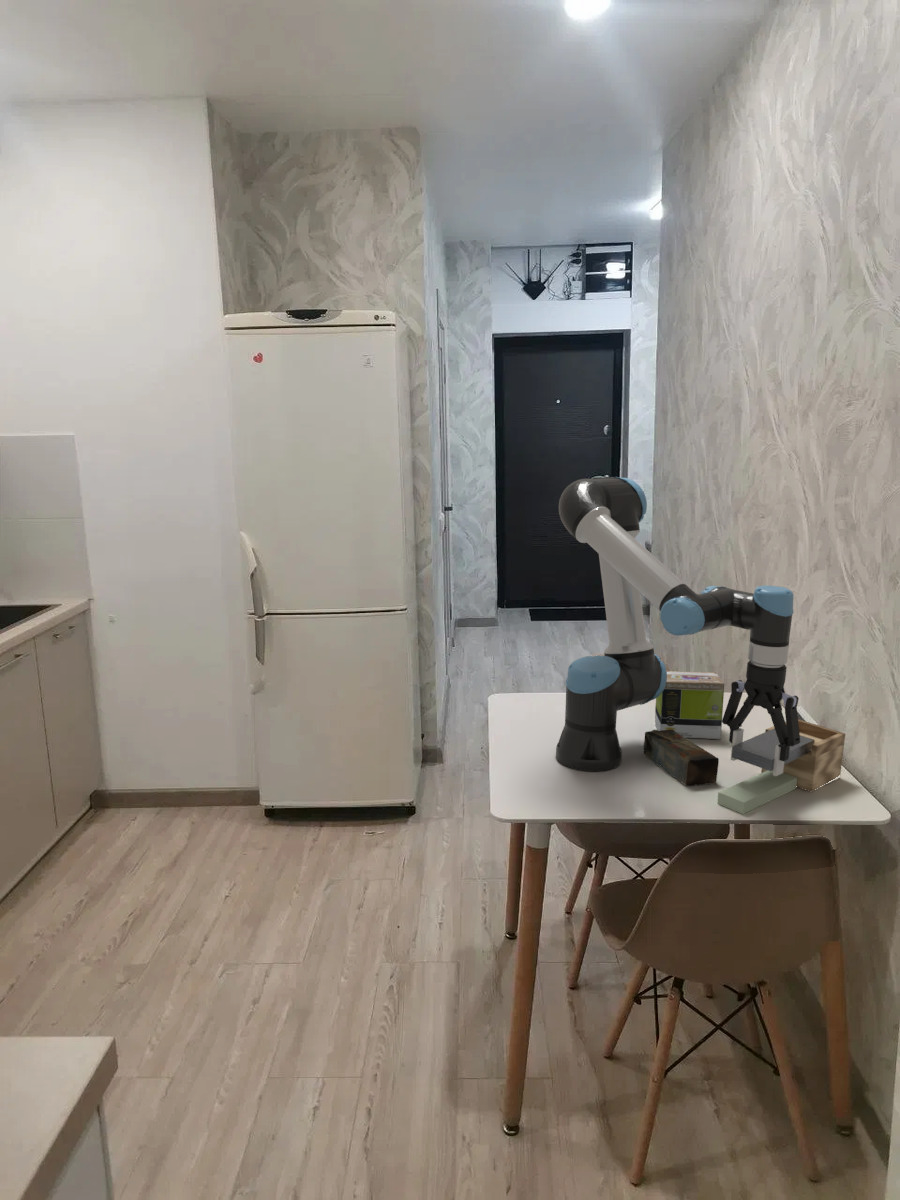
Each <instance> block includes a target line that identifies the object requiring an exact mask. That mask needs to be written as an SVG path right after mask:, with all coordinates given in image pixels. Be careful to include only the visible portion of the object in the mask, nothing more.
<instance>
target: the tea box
mask: <svg viewBox="0 0 900 1200" xmlns="http://www.w3.org/2000/svg"><path fill="white" fill-rule="evenodd" d="M666 671H667V682H666V686H665V688H664V690H663V692H662V693H661V694H660V695H659V696H658V697H657V698H656V699H655V711H654V714H655V715H654V723H655V726H656V730H658V731H661V730H674V731H675V732H677V733H678V734H680V735H681V736H683V737H685V738H686V739H689V738H690V739H710V740H721V738H722V729H723V728H722V724H723V723H722V719H723V712H724V710H723V709H724V698H725V697H724V696H725V683H724V682H723V681H722V678H720V676H719V675H718V674H717V672H713V671H711V672H709V671H678V670H677V671H676V670H675V671H673V670H670V671H669V670H666Z"/></svg>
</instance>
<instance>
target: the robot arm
mask: <svg viewBox="0 0 900 1200" xmlns="http://www.w3.org/2000/svg"><path fill="white" fill-rule="evenodd" d="M646 497H647V496H646V495H645V492H644V490H643V489H642V487H641V486H640V485H639V484H638V483H637V482H636V481H634V480H633V479H630V478H629V477H628V478H627V477H620V476H619V477H618V476H615V477H614V476H611V477H601V478H599V477H598V478H581V479H577V480H575V481H573V482H571V483H570V484H569V485H567V486H566V488H564V490H563V492H562V493H561V495H560V497H559V500H558V514H559V518H560V520H561V523H562V524H563V526H564V527H565V529H566V530H567V532H568V533H569V534H570V535H571V536H573V538H575V539H576V540H577V541H578V542H579V543H582V544H586V543H587V544H588V545H589V546H590V547H591V548H592V549H593V550H594V551H595V552H597V554H598V558H599V567H600V576H601V582H602V583H601V585H602V592H603V599H604V608H605V619H606V626H607V634H608V640H609V641H608V642H609V644H608V645H607V646H606V648H605V649H604V650H603V654H604V655H594V656H593V655H592V656H591V655H588V656H583V657H579V658H577V659H575V660H573V661H572V662H571V663H570V665H569V666H568V669H567V676H566V680H565V685H566V686H565V711H564V712H565V713H564V715H565V716H564V717H565V719H564V725H563V728H562V732H561V734H560V737H559V740H558V741H557V745H556V747H555V758H556V760H557V761H558V762H559V763H560V764H562V765H563V766H566V767H567V768H571V769H574V770H580V771H585V772H602V771H603V772H605V771H610V770H614V769H616V768H617V767H619V766H620V765H621V764H622V761H623V749H622V747H621V746H620V741H619V737H618V733H617V718H618V717H617V715H618V711H621V710H625V709H628V708H632V707H635V706H638V705H640V706H641V705H645V704H647V703H650V702H651V701H654V700H656V698H657V697H658V696H659V695H660V694H661V693H662V692H663V690H664V688H665V686H666V682H667V671H668V670H667V667H666V665H665V663H664V661H662V660H661V657H660V656H659V655H658V654H656V653H655V648H654V645H652V644H651V643H650V642H649V641H648V640H647V635H646V628H645V621H644V613H643V612H644V609H643V603H642V596H643V597H644V598H645V599H647V600H648V601H649V602H650V603H651V604H652V605H653V606H654V607H655V608H657V610H658V611H660V612H659V615H660V618H659V619H660V622H661V623H662V626H663V628H664V629H665V630H666V632H667V633H668V634H671V635H672V636H690V635H695V634H697V633H701V632H704V631H709V630H710V631H711V630H714V629H718V628H723V627H726V626H727V627H729V626H730V627H735V628H739V629H744V630H749V631H750V632H749V644H748V645H749V646H748V654H747V659H748V660H749V661H747V663H746V673H745V677H746V681H743V680H741V679H739V680H735V681H733V682H731V686H730V687H731V688H730V689H731V691H730V696H729V698H728V701H727V705H726V708H725V710H724V714H723V715H722V724H723V725H726V726H728V727H729V737H728V741H729V743H730V744H731V749H732V748H733V746H734V745H737V744H739V743H742V742H744V741H743V740H744V731H745V729H744V728H742V727H743V724H744V722H745V720H746V719H747V717H748V716H749V714H750V713H751V712H752V710H753V709H754V707H761V708H762V709H765V710H767V714H768V715H770V719H771V721H772V724H773V726H774V728H775V731H776V734H777V737H778V740H779V743H780V744H777V745H776V748H775V757H774V768H773V775H774V776H778V775H780V774H782V773H783V769H784V761H786V760H788V758H789V750H790V746H794V745H797V744H799V743H800V733H799V724H798V719H799V718H798V717H799V715H798V703H799V699H800V698H799V697H798V695H790V694H787V693H786V691H785V688H784V687H785V683H786V677H787V665H786V664H787V663H788V657H789V647H790V635H791V629H792V628H791V627H792V619H793V616H794V615H793V614H794V593H793V591H792V590H791V589H789V588H787V587H783V586H775V585H759V586H757V587H755V589H754V592H753V593H752V592H747V591H743V590H737V589H733V588H730V587H727V586H722V585H721V586H718V585H717V586H716V585H709V586H706V587H705V588H704V589H703V590H702V591H701V592H700V593H697V592H696V591H694V590H693V589H692V588H690V587H689V586H688V585H687V584H686V583H685V582H683V581H682V580H681V579H680V578H679V577H678V576H677V575H676V574H675V573H673V571H671V569H669V568H668V567H667V566H666V565H665V564H663V563H662V562H661V561H660V560H659V559H658V558H657V557H656V556H655V555H653V554H652V552H650V551H649V550H648V549H647V548H646V547H644V546H643V544H641V543H640V542H638V540H636V538H637V536H638V535H639V534H640V533H641V530H640V523H641V522H642V520H643V519H644V518H645V516H644V515H646V513H647V509H648V503H647V498H646ZM641 594H642V595H641ZM744 691H745V692H746V694H747V697H746V699H745V700H744V701H743V705H742V706H741V708H740V709H739V711H738V707H739V705H740V701H741V699H742V696H743V692H744ZM781 701H783V703H781ZM782 704H783V706H784V714H783V708H782V707H783V706H782ZM737 711H738V712H737ZM784 715H785V717H784ZM785 722H786V723H785ZM786 725H787V726H786ZM737 760H738V759H735V758H732V750H731V753H730V761H734V762H735V761H737Z"/></svg>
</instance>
